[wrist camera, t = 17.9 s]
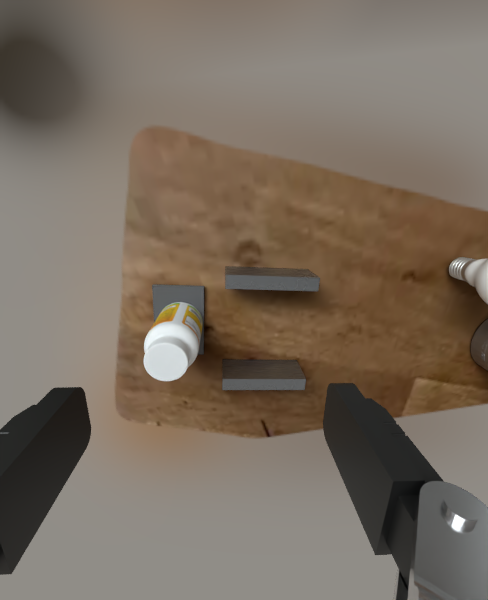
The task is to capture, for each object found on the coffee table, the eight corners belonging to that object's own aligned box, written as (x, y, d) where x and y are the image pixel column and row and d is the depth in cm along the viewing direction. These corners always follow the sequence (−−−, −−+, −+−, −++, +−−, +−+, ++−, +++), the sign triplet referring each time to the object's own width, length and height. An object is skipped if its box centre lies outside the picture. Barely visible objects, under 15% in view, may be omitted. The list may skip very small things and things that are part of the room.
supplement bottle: (155, 336, 35) (130, 382, 25) (162, 296, 33) (139, 330, 24) (198, 345, 35) (189, 393, 26) (207, 306, 34) (201, 342, 25)
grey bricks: (307, 269, 34) (319, 277, 30) (295, 369, 38) (304, 389, 34) (225, 266, 33) (225, 274, 29) (222, 369, 37) (222, 390, 33)
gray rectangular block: (204, 286, 34) (203, 287, 33) (203, 352, 36) (203, 354, 36) (153, 284, 33) (152, 285, 33) (156, 352, 36) (155, 354, 35)
